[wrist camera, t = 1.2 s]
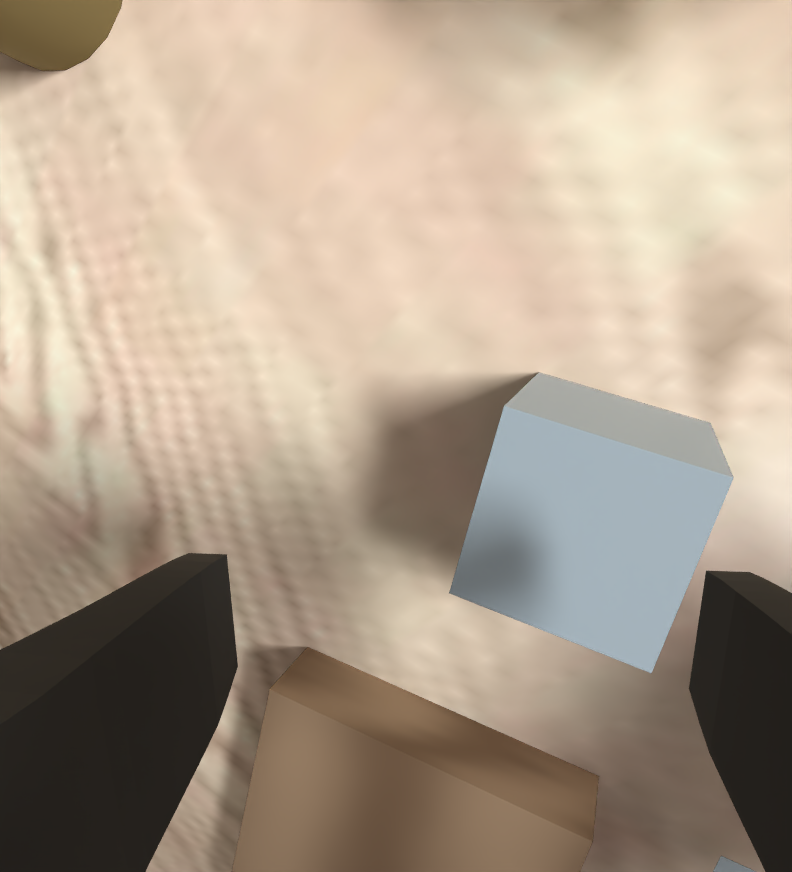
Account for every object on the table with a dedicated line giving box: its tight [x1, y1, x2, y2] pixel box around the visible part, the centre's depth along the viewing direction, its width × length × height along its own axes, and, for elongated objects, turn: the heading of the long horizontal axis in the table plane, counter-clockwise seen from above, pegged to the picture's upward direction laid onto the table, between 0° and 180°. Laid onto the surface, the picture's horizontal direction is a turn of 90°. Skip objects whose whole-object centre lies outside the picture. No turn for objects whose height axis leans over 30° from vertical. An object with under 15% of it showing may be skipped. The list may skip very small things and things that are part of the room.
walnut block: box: [232, 647, 599, 872], centre depth 22 cm, size 10×10×3 cm
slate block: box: [449, 372, 733, 673], centre depth 16 cm, size 4×4×5 cm
